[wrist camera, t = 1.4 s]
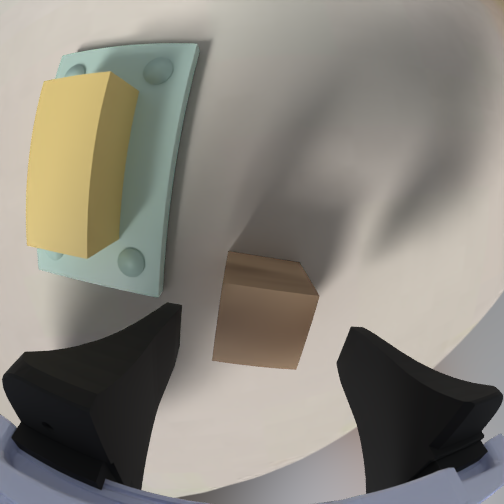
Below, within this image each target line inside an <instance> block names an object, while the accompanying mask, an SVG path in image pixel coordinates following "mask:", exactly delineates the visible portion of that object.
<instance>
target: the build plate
mask: <svg viewBox="0 0 504 504" xmlns="http://www.w3.org/2000/svg"><path fill="white" fill-rule="evenodd" d="M199 53H200V50H199V47H198V44H193V43H155V44H137V45H125V46H115V47H107V48H100V49H94V50H88V51H82V52H77V53H72V54H67V55H63V56H62V59H61V62H60V65H59V68H58V71H57V74H56V78H55V79H58V78H63V77H69V76H75V75H82V74H89V73H98V72H108V71H111V72H113V73H114V74H115V75H117V76H118V77H120V78H121V79H123V80H124V81H125V82H127V83H128V84H130V85H131V86H133V87H134V88H135V89H137V90H138V91H139V95H138V99H137V104H136V108H135V113H134V118H133V123H132V128H131V133H130V139H129V145H128V151H127V158H126V165H125V173H124V181H123V190H122V201H121V213H120V230H119V240H117V241H115V242H114V243H112V244H111V245H109V246H107V247H106V248H104V249H102V250H101V251H99V252H98V253H96V254H94V255H93V256H91V257H90V258H88V259H85V258H80V257H75V256H71V255H66V254H62V253H57V252H53V251H48V250H44V249H40V248H37V254H38V266H39V270H43V271H46V272H50V273H54V274H57V275H61V276H65V277H69V278H73V279H76V280H80V281H84V282H89V283H93V284H97V285H101V286H105V287H110V288H114V289H119V290H123V291H128V292H133V293H137V294H142V295H147V296H152V297H157V298H159V296H160V294H161V293H162V291H163V281H164V265H165V252H166V240H167V230H168V220H169V211H170V203H171V195H172V187H173V180H174V173H175V167H176V160H177V154H178V148H179V142H180V137H181V131H182V126H183V121H184V116H185V111H186V106H187V102H188V97H189V93H190V88H191V84H192V80H193V76H194V72H195V68H196V64H197V60H198V56H199Z"/></svg>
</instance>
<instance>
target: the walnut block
mask: <svg viewBox="0 0 504 504" xmlns="http://www.w3.org/2000/svg"><path fill="white" fill-rule="evenodd" d="M318 299H319V294H318V293H317V291H316V289H315V288H314V286H313V284H312V283H311V281H310V279H309V278H308V276H307V274H306V273H305V271H304V269H303V268H302V266H301V264H300V263H299V262H294V261H288V260H281V259H275V258H269V257H262V256H256V255H250V254H243V253H237V252H231V251H228V256H227V262H226V267H225V273H224V278H223V284H222V291H221V298H220V305H219V312H218V320H217V327H216V334H215V342H214V349H213V357H212V361H218V362H225V363H233V364H241V365H249V366H258V367H269V368H281V369H295V370H296V368H297V366H298V363H299V360H300V357H301V354H302V351H303V348H304V345H305V342H306V339H307V336H308V332H309V329H310V326H311V323H312V320H313V316H314V313H315V310H316V306H317V303H318Z"/></svg>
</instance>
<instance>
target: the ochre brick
mask: <svg viewBox="0 0 504 504" xmlns="http://www.w3.org/2000/svg"><path fill="white" fill-rule="evenodd" d="M138 95H139V91H138V90H137V89H135V88H134V87H133V86H131V85H130V84H128V83H127V82H125V81H124V80H123V79H121V78H120V77H118V76H117V75H115V74H114V73H113V72H111V71H108V72H98V73H89V74H82V75H75V76H69V77H63V78H58V79H53V80H48V81H44V83H43V87H42V90H41V94H40V98H39V103H38V107H37V112H36V116H35V121H34V127H33V133H32V139H31V146H30V154H29V163H28V174H27V190H26V236H27V246H31V247H36V248H40V249H44V250H48V251H53V252H57V253H62V254H66V255H71V256H75V257H80V258H85V259H88V258H90V257H91V256H93V255H94V254H96V253H98V252H99V251H101V250H102V249H104V248H106V247H107V246H109V245H111V244H112V243H114V242H115V241H117V240H119V230H120V213H121V201H122V190H123V181H124V173H125V165H126V158H127V151H128V145H129V139H130V133H131V128H132V123H133V118H134V113H135V108H136V104H137V99H138Z"/></svg>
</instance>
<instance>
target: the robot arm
mask: <svg viewBox="0 0 504 504" xmlns="http://www.w3.org/2000/svg"><path fill="white" fill-rule="evenodd" d="M181 312H182V305H178V304H173V303H168V302H167V303H166V304H164V305H163V306H161V307H160V308H158V309H157V310H155V311H154V312H152V313H151V314H149V315H148V316H146V317H145V318H143V319H141V320H140V321H138V322H136V323H134V324H133V325H131V326H129V327H127V328H125V329H123V330H121V331H119V332H117V333H115V334H113V335H110V336H108V337H105V338H103V339H100V340H97V341H94V342H90V343H87V344H83V345H80V346H76V347H71V348H65V349H59V350H51V351H35V352H24V353H23V354H22V355H21V356H20V358H19V359H18V360H17V361H16V362H15V363H14V364H13V365H12V366H11V367H10V368H9V369H8V371H7V372H6V373H5V374H4V375H3V378H2V382H3V388H4V391H5V393H6V396H7V398H8V399H9V401H10V403H11V405H12V407H13V409H14V410H15V412H16V414H17V416H18V417H19V419H20V421H21V423H20V425H19V426H18V428H16V426H15V425H14V424H13V423H12V422H10V421H9V420H8V419H6V418H5V417H4V416H2V415H1V414H0V504H210V503H202V502H195V501H189V500H183V499H177V498H172V497H167V496H163V495H158V494H154V493H150V492H146V491H142V490H141V488H142V481H143V474H144V468H145V462H146V457H147V451H148V447H149V442H150V437H151V433H152V428H153V424H154V420H155V416H156V412H157V409H158V406H159V403H160V401H161V398H162V396H163V393H164V391H165V388H166V386H167V383H168V381H169V378H170V376H171V373H172V371H173V368H174V366H175V362H176V358H177V354H178V350H179V346H180V328H181ZM337 368H338V373H339V377H340V381H341V384H342V387H343V389H344V392H345V395H346V397H347V400H348V402H349V405H350V408H351V410H352V413H353V415H354V418H355V421H356V424H357V427H358V432H359V436H360V440H361V446H362V452H363V458H364V465H365V476H366V494H364V495H359V496H355V497H351V498H348V499H343V500H338V501H331V502H324V503H317V504H480V503H481V502H483V501H484V500H486V499H487V498H488V497H489V496H491V495H492V494H493V493H495V492H496V491H497V490H498V489H499V488H501V487H502V486H503V485H504V436H503V435H502V434H498V435H497V436H495V437H493V438H492V439H490V440H488V441H487V442H486V443H485V444H484V445H483V444H482V442H481V439H483V438H484V434H483V433H482V430H483V428H484V427H485V426H486V425H487V424H488V422H489V421H490V420H491V418H492V417H493V416H494V415H495V413H496V412H497V410H498V409H499V407H500V405H501V403H502V400H503V395H502V393H501V392H500V391H499V390H498V389H497V388H496V387H494V386H489V385H483V384H477V383H471V382H467V381H464V380H460V379H457V378H453V377H451V376H448V375H445V374H442V373H440V372H438V371H435V370H433V369H431V368H429V367H427V366H425V365H423V364H421V363H419V362H417V361H416V360H414V359H412V358H411V357H409V356H407V355H406V354H404V353H402V352H401V351H399V350H398V349H396V348H395V347H393V346H392V345H390V344H389V343H387V342H386V341H384V340H383V339H381V338H380V337H378V336H377V335H375V334H374V333H372V332H371V331H369V330H367V329H365V328H363V327H351V328H350V331H349V333H348V336H347V338H346V341H345V343H344V346H343V348H342V351H341V353H340V356H339V358H338V360H337Z"/></svg>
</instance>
